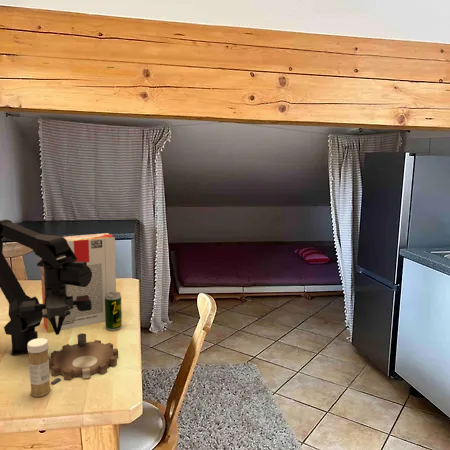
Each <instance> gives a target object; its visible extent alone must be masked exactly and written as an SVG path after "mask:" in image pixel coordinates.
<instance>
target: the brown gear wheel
mask: <svg viewBox="0 0 450 450" xmlns="http://www.w3.org/2000/svg"><path fill="white" fill-rule="evenodd" d="M118 358H119V349H118V348H114V344H113V343H111V342H108V343H102V340H101V339H100V340H99V339H97V340H96V339H95V340H94V341H92V342H91V341H89V342H88V341H87V334H86V333H79V334H77V343H74V344H69V343H68V344H65V345H62V347H61V349H60V350H53V351H52V352H51V353H50V358H48V359H49V370H50V373H51V374H50V375H53V376H54V377H56V376H58V375H62V376H63V379H65V380H72V378H73V377H82V380H84V379H89V378H91V375H94V374H97V373H99V374H101V375H103V374H105V373H106V372H108V368H109V367H115V366H116V365H117V363H118Z"/></svg>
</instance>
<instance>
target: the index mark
mask: <svg viewBox="0 0 450 450" xmlns="http://www.w3.org/2000/svg"><path fill="white" fill-rule="evenodd" d="M61 380H62V379H61V377H57V378H55V379H54V380H52V381H50V385H52V386H53V385H54V386H55V385H56V384H58V383H59V382H60V381H61Z"/></svg>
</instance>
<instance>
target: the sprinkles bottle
mask: <svg viewBox="0 0 450 450" xmlns="http://www.w3.org/2000/svg"><path fill="white" fill-rule="evenodd" d="M27 347H28V353H27V354H28V361H29V362H28V364H29V367H28V370H29V382H30V395H31V396H32V397H36V398H38V397H39V398H40V397H44V396H46V395H48V394H49V393H50V392H51V387H50V385H51V381H50V375H51V374H50V369H49V359H50V358H49V351H48V350H49V340H48V339H46V338H45V337H44V338H42V337H40V338H39V337H38V338H37V339H33V340H31V341H29V342H28V344H27Z"/></svg>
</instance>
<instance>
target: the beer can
mask: <svg viewBox="0 0 450 450" xmlns="http://www.w3.org/2000/svg"><path fill="white" fill-rule="evenodd" d="M122 314H123V313H122V295H121V292H119V291H116V292H108V293H106V294H105V322H104V323H105V329H106V330H107V331H110V332H111V331H112V332H113V331H114V332H115V331H119V330H121V328H122V327H123V325H122V324H123V323H122V322H123V321H122V318H123V317H122Z"/></svg>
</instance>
